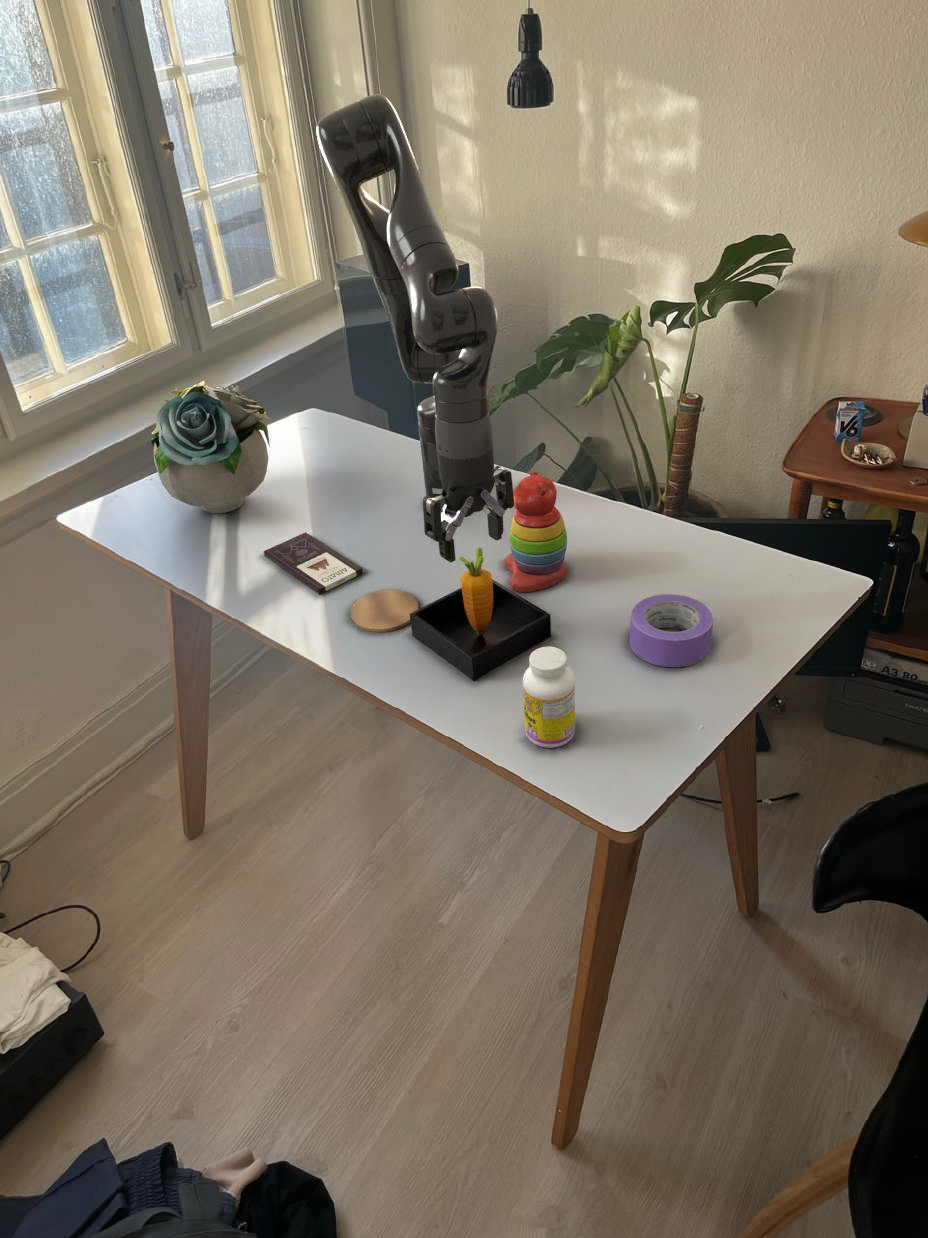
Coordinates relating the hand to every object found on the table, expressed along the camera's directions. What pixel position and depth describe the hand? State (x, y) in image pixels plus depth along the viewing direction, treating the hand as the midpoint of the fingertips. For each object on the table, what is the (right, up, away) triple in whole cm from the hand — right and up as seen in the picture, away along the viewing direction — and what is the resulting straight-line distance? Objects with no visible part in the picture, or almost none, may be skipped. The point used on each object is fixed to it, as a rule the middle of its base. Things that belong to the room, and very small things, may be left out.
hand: (472, 548), depth 131 cm
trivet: (-14, -9, +17) cm, 23 cm away
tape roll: (+29, -14, +5) cm, 33 cm away
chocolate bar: (-28, -1, +30) cm, 41 cm away
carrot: (+1, -13, +9) cm, 16 cm away
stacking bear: (+11, -3, +23) cm, 25 cm away
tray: (+1, -13, +9) cm, 16 cm away
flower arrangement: (-49, +13, +51) cm, 72 cm away
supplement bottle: (+10, -25, -9) cm, 29 cm away
